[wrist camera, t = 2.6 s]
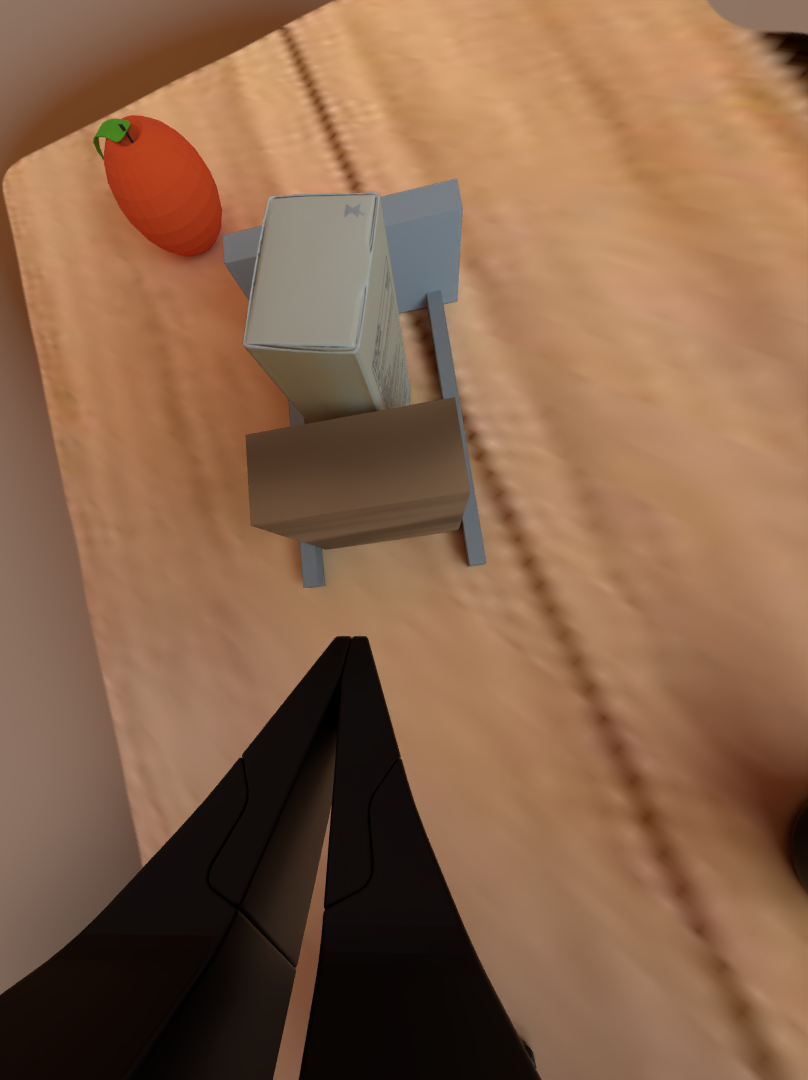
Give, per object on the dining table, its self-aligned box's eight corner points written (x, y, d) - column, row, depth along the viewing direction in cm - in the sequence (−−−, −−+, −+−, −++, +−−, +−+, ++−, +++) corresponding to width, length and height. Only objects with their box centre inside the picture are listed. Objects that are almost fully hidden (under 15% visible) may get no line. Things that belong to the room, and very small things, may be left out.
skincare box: (353, 385, 24) (266, 184, 12) (412, 387, 24) (383, 180, 12) (341, 469, 23) (233, 344, 11) (401, 474, 23) (357, 348, 11)
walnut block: (458, 530, 22) (470, 491, 13) (326, 549, 22) (250, 525, 14) (449, 472, 22) (455, 397, 13) (320, 493, 23) (245, 435, 14)
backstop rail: (502, 562, 21) (526, 552, 15) (293, 589, 22) (240, 591, 16) (453, 277, 24) (457, 178, 18) (273, 316, 26) (223, 235, 20)
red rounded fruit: (139, 264, 28) (38, 156, 21) (175, 196, 28) (89, 69, 21) (218, 287, 27) (139, 180, 20) (254, 215, 27) (189, 87, 20)
